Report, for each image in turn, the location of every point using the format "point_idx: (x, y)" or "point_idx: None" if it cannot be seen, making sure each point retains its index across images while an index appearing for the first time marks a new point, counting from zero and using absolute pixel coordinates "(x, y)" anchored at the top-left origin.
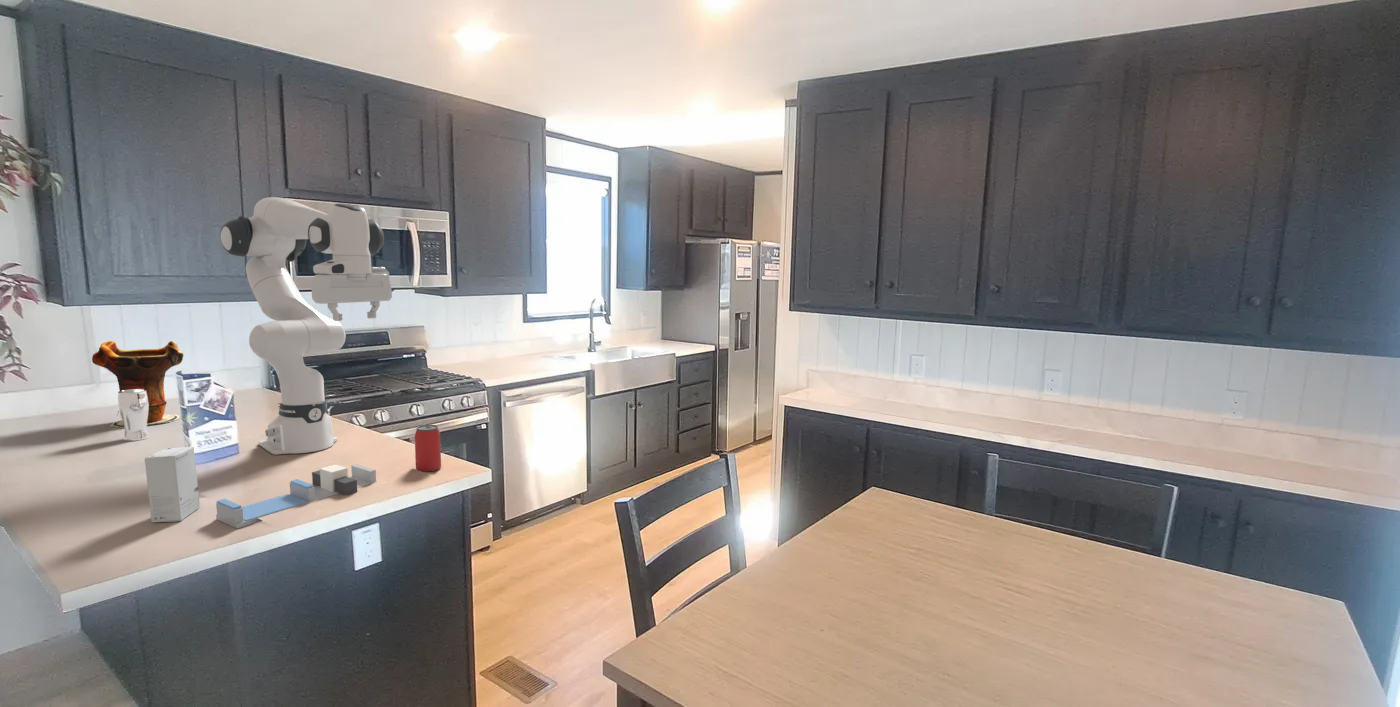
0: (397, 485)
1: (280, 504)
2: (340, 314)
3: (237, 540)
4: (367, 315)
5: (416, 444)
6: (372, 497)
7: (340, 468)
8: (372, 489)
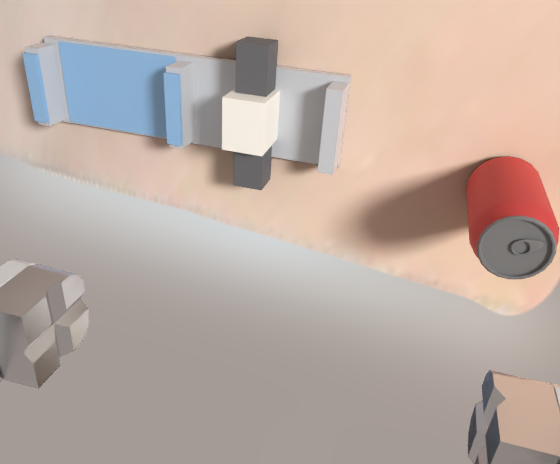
0: (361, 204)
1: (138, 104)
2: (22, 378)
3: (50, 163)
4: (497, 393)
5: (471, 212)
6: (281, 210)
7: (251, 143)
8: (314, 174)
